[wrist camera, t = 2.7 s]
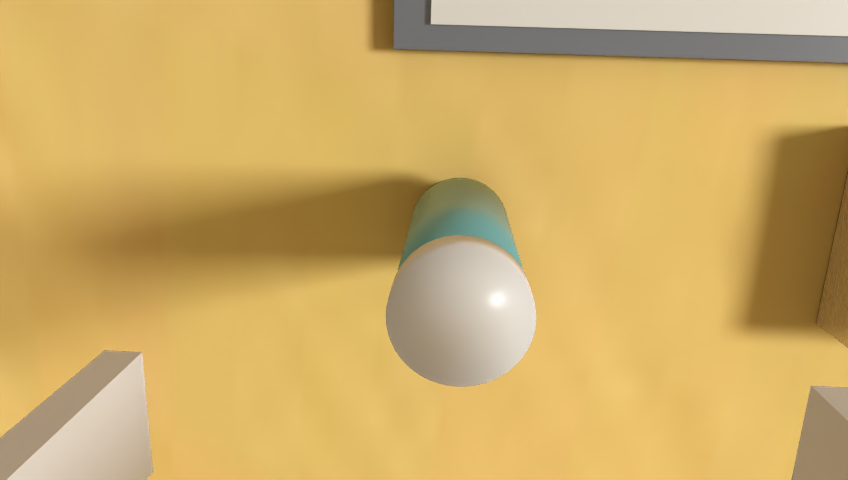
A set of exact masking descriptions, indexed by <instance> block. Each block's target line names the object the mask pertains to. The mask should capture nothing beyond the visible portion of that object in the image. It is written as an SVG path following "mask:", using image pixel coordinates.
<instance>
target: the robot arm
mask: <svg viewBox="0 0 848 480" xmlns="http://www.w3.org/2000/svg"><path fill="white" fill-rule="evenodd" d="M152 472H153V464H152V453H151V442H150V432H149V421H148V411H147V400H146V389H145V379H144V368H143V357H142V352H126V351H106V350H105V351H103V352H102V353H101V354H100V355H99V356H97V357H96V358H95V359H94V360H93V361H91V362H90V363H89V364H88V365H87V366H85V367H84V368H83V369H82V370H81V371H80V372H78V373H77V374H76V375H75V376H74V377H72V378H71V379H70V380H69V381H68V382H66V383H65V384H64V385H63V386H62V387H60V388H59V389H58V390H57V391H56V392H54V393H53V394H52V395H51V396H50V397H48V398H47V399H46V400H45V401H44V402H42V403H41V404H40V405H39V406H38V407H36V408H35V409H34V410H33V411H32V412H30V413H29V414H28V415H27V416H26V417H25V418H23V419H22V420H21V421H20V422H19V423H17V424H16V425H15V426H14V427H13V428H11V429H10V430H9V431H8V432H7V433H5V434H4V435H3V436H2V437H1V438H0V480H147V479H148V478H149V477H150V475H151V474H152ZM792 480H848V388H845V387H825V386H811V388H810V393H809V398H808V402H807V407H806V412H805V417H804V422H803V427H802V431H801V436H800V441H799V446H798V451H797V455H796V460H795V465H794V470H793V475H792Z"/></svg>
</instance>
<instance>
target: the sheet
mask: <svg viewBox="0 0 848 480" xmlns="http://www.w3.org/2000/svg"><path fill="white" fill-rule="evenodd" d="M393 49H411V50H444V51H477V52H510V53H543V54H575V55H608V56H641V57H674V58H707V59H740V60H773V61H805V62H838V63H848V0H394V46H393Z"/></svg>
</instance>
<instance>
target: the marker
mask: <svg viewBox="0 0 848 480" xmlns="http://www.w3.org/2000/svg"><path fill="white" fill-rule="evenodd" d="M386 325H387V330H388V335H389V337H390V340H391V343H392V345H393V347H394V349H395V351H396V352H397V354H398V355H399V356H400V358H401V359H402V360H403V361H404V362H405V363H406V365H408V366H409V367H410V368H411V369H412V370H413V371H415V372H416V373H418V374H419V375H421V376H422V377H424V378H426V379H428V380H431V381H433V382H436V383H439V384H444V385H448V386H457V387H463V386H475V385H479V384H483V383H487V382H489V381H492V380H495V379H497V378H498V377H500V376H502V375H504V374H505V373H507V372H508V371H509V370H511V369H512V368H513V367H514V366H515V365H516V364H517V363H518V362H519V361H520V360H521V359H522V357H523V356H524V355H525V353H526V351H527V350H528V348H529V346H530V344H531V342H532V339H533V336H534V332H535V327H536V308H535V302H534V299H533V295H532V292H531V289H530V285H529V282H528V279H527V277H526V275H525V272H524V271H523V268H522V265H521V261H520V258H519V255H518V251H517V248H516V245H515V241H514V238H513V234H512V231H511V228H510V224H509V221H508V218H507V214H506V211H505V208H504V206H503V203H502V202H501V200H500V198H499V197H498V196H497V195H496V193H495V192H494V191H493V190H491V189H490V188H489V187H488V186H486V185H484V184H483V183H481V182H478V181H476V180H472V179H468V178H452V179H447V180H444V181H441V182H439V183H437V184H435V185H434V186H432V187H431V188H429V189H428V190H427V191H426V192H425V193H424V194H423V195H422V196H421V198H420V199H419V201H418V203H417V204H416V207H415V209H414V212H413V216H412V220H411V223H410V227H409V231H408V235H407V238H406V242H405V246H404V250H403V253H402V257H401V261H400V265H399V268H398V272H397V274H396V276H395V278H394V281H393V284H392V288H391V291H390V295H389V299H388V303H387V309H386Z"/></svg>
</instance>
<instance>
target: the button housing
mask: <svg viewBox="0 0 848 480" xmlns="http://www.w3.org/2000/svg"><path fill="white" fill-rule="evenodd" d="M816 324H817V325H819V326H820V327H821V328H823V329H824V330H825V331H827V332H828V333H829V334H830V335H832V336H833V337H834V338H836V339H837V340H838V341H840V342H841V343H842V344H843V345H845V346H846V347H847V348H848V174H847V179H846V184H845V189H844V194H843V198H842V203H841V208H840V213H839V217H838V222H837V227H836V232H835V237H834V241H833V246H832V251H831V256H830V260H829V265H828V270H827V275H826V280H825V284H824V289H823V294H822V299H821V304H820V308H819V313H818V318H817V323H816Z"/></svg>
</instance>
